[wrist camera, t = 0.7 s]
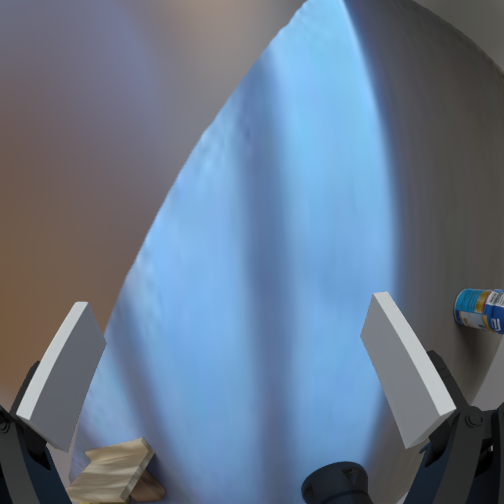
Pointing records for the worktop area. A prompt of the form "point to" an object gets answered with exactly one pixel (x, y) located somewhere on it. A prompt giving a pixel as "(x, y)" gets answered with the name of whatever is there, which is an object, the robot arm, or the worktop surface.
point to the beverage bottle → (481, 309)
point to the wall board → (117, 475)
